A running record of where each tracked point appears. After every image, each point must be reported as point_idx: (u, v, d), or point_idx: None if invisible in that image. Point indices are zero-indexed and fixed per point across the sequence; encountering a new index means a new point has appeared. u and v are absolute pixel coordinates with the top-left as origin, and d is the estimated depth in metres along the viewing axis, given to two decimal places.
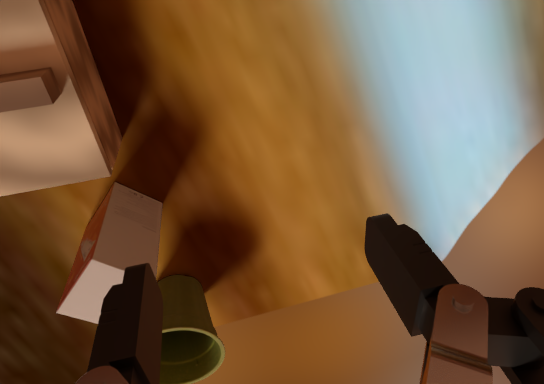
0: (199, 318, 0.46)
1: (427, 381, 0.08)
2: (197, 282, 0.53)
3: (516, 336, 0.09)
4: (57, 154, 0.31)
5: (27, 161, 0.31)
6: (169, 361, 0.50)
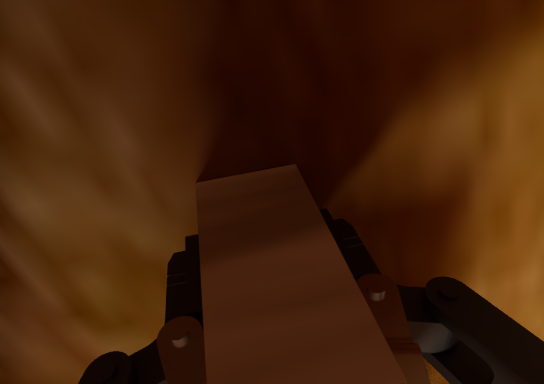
0: None
1: None
2: None
3: (423, 322, 0.10)
4: None
5: None
6: None
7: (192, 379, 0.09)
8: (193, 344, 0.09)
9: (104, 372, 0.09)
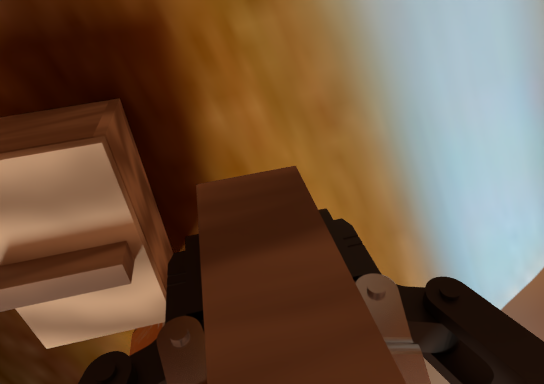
0: None
1: None
2: None
3: (423, 322, 0.10)
4: (124, 307, 0.31)
5: (93, 315, 0.31)
6: None
7: (192, 379, 0.09)
8: (193, 344, 0.09)
9: (104, 372, 0.09)
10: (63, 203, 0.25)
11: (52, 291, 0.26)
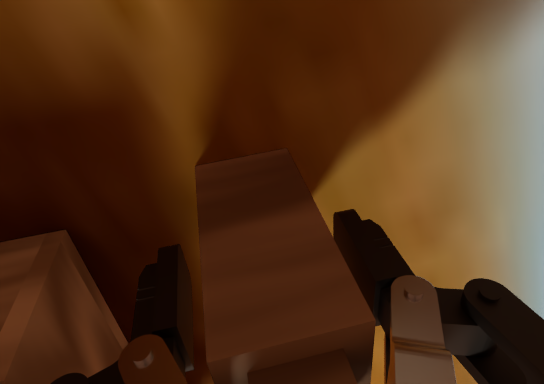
0: None
1: (396, 378, 0.08)
2: None
3: (463, 325, 0.10)
4: None
5: None
6: None
7: None
8: (155, 365, 0.09)
9: None
10: None
11: None
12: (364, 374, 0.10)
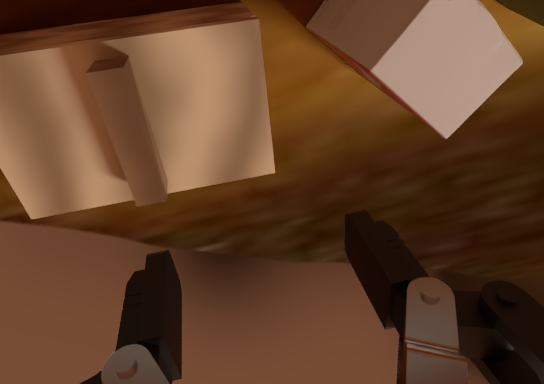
0: None
1: (406, 378, 0.08)
2: None
3: (481, 328, 0.10)
4: (219, 82, 0.24)
5: (229, 118, 0.25)
6: None
7: None
8: (139, 376, 0.09)
9: None
10: (42, 118, 0.23)
11: (136, 153, 0.23)
12: None
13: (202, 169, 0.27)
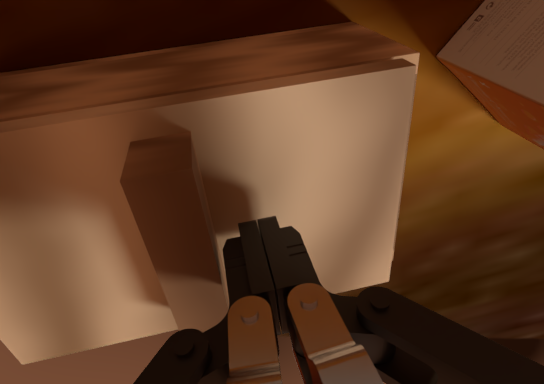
0: None
1: None
2: None
3: (354, 333, 0.10)
4: (333, 165, 0.14)
5: (338, 216, 0.16)
6: None
7: (252, 358, 0.09)
8: (265, 322, 0.10)
9: (183, 347, 0.09)
10: (38, 231, 0.13)
11: (200, 293, 0.13)
12: None
13: None
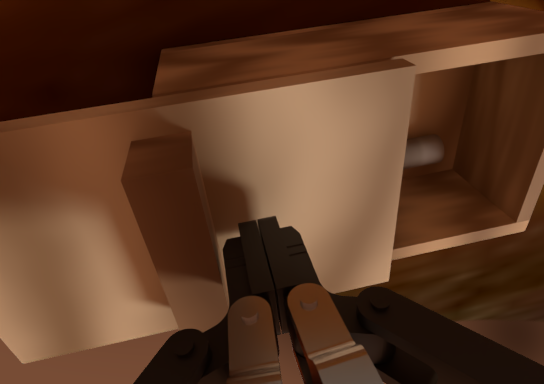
0: None
1: None
2: None
3: (354, 333, 0.10)
4: (333, 165, 0.14)
5: (338, 215, 0.16)
6: None
7: (252, 358, 0.09)
8: (265, 322, 0.10)
9: (183, 347, 0.09)
10: (39, 231, 0.13)
11: (200, 292, 0.13)
12: None
13: None
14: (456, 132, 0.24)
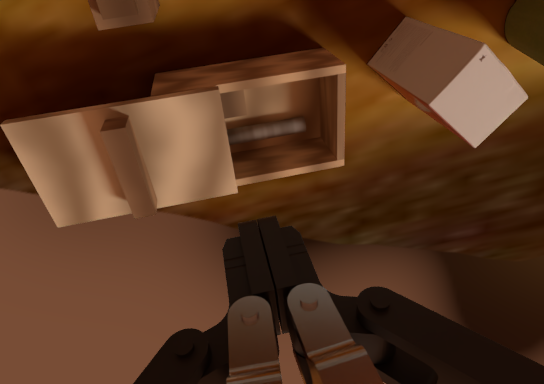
0: None
1: None
2: None
3: (354, 333, 0.10)
4: (193, 131, 0.34)
5: (201, 155, 0.35)
6: None
7: (252, 358, 0.09)
8: (265, 322, 0.10)
9: (183, 347, 0.09)
10: (68, 157, 0.33)
11: (134, 182, 0.33)
12: None
13: (182, 190, 0.37)
14: (317, 115, 0.43)
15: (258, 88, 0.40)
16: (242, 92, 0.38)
